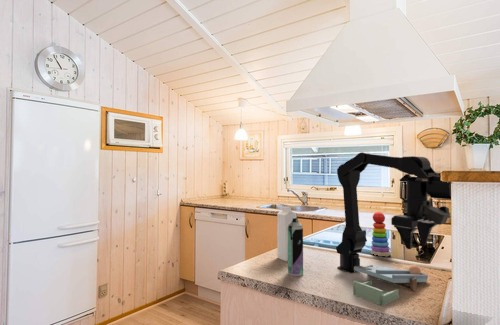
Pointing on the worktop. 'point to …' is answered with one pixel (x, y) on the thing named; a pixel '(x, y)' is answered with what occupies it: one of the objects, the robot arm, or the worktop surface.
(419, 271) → the ball
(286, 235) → the milk
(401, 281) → the grey flat rectangular piece
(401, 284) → the stand
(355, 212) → the robot arm
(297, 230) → the spray can
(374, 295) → the tray
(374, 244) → the stacking toy
